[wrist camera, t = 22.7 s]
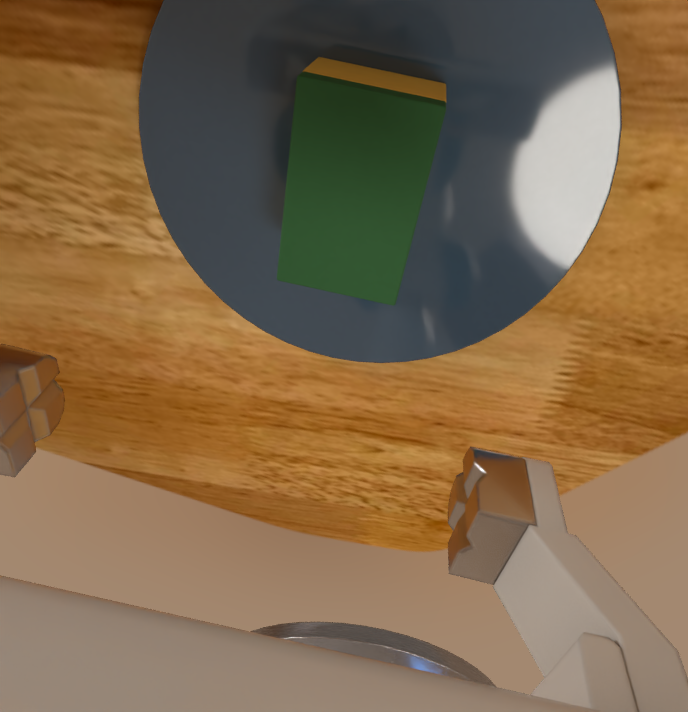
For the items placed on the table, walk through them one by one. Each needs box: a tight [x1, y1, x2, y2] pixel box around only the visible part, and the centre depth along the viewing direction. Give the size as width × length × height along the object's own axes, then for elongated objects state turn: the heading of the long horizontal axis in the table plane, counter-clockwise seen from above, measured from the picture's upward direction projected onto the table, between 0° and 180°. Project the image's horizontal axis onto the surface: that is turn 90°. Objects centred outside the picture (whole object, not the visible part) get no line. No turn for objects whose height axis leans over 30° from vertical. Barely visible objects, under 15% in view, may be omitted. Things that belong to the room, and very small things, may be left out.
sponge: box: [277, 57, 446, 306], centre depth 20 cm, size 7×4×4 cm, turn 171°
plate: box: [139, 0, 622, 363], centre depth 21 cm, size 18×18×1 cm
